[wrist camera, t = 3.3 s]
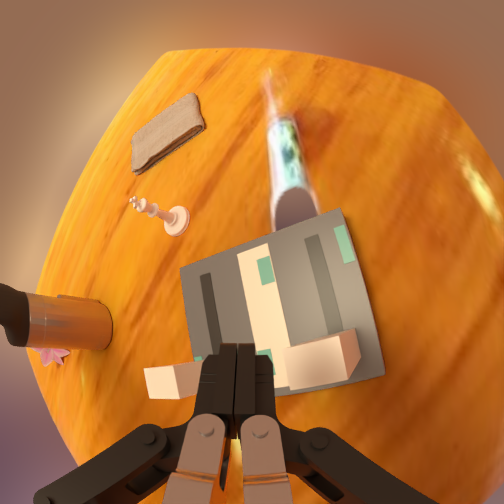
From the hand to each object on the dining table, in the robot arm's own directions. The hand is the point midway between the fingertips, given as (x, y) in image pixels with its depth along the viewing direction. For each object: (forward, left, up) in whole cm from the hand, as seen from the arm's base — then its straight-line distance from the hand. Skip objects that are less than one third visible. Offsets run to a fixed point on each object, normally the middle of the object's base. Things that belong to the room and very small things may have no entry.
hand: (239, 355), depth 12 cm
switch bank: (-6, -3, -20) cm, 21 cm away
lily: (-39, -51, -21) cm, 67 cm away
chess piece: (-28, -4, -21) cm, 35 cm away
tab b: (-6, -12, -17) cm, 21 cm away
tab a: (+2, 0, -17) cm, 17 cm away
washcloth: (-46, +6, -21) cm, 51 cm away
